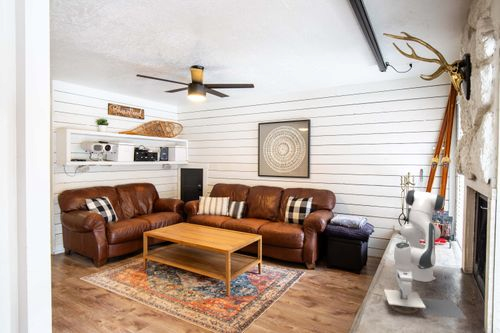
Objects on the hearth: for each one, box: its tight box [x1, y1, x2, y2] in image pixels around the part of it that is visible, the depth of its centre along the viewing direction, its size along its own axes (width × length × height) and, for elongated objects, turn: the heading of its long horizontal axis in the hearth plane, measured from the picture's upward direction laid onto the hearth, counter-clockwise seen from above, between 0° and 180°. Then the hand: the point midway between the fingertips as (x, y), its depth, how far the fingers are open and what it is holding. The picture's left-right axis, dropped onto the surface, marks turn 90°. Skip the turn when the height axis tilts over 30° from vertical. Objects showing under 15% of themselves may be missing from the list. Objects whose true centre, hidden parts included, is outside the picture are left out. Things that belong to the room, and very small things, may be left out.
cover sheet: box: [383, 288, 426, 309], centre depth 166 cm, size 18×18×5 cm
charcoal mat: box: [420, 297, 468, 320], centre depth 166 cm, size 20×20×1 cm
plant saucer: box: [388, 303, 419, 315], centre depth 166 cm, size 15×15×3 cm
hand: (403, 295), depth 166 cm, fingers closed on cover sheet, 3 cm apart
